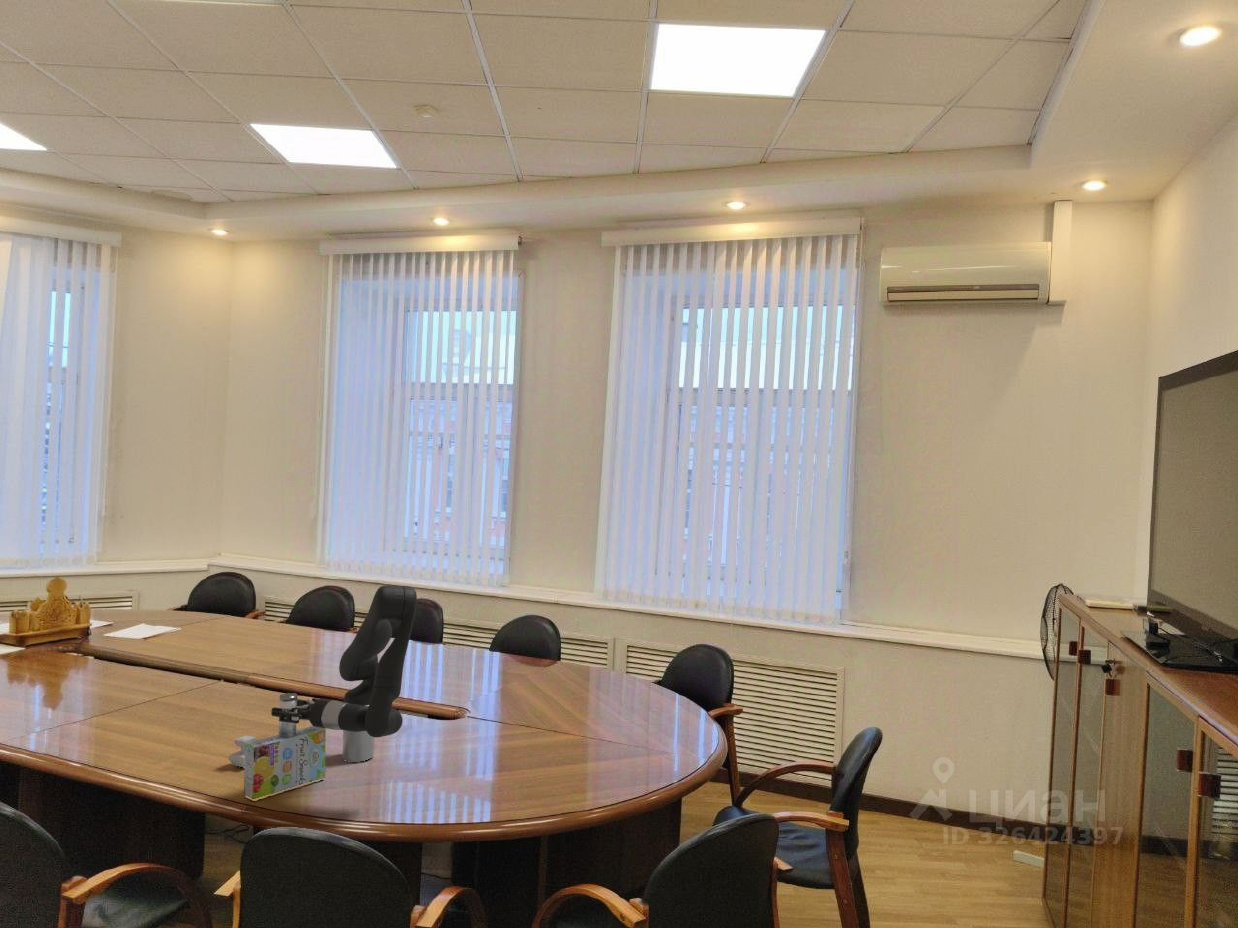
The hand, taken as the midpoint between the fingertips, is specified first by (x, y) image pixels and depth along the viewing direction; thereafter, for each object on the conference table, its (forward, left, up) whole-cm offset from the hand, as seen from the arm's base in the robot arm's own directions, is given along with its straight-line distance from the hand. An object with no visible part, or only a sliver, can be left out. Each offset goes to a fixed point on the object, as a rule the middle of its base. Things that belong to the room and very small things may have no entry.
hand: (283, 707), depth 228 cm
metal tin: (+1, +1, -7) cm, 8 cm away
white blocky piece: (-19, -12, -23) cm, 32 cm away
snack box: (+1, +1, -23) cm, 23 cm away
